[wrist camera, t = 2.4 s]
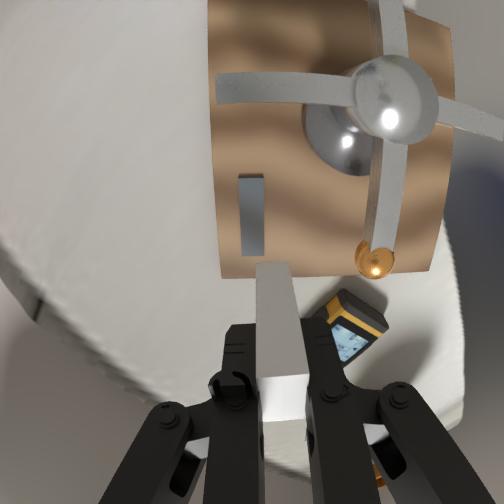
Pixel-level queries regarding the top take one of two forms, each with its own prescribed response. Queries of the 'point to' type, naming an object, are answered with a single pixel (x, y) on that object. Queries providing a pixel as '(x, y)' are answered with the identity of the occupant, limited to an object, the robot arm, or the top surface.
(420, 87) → the capstan
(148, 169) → the top surface
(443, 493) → the robot arm
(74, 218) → the top surface
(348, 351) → the electronic device
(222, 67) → the wooden board
